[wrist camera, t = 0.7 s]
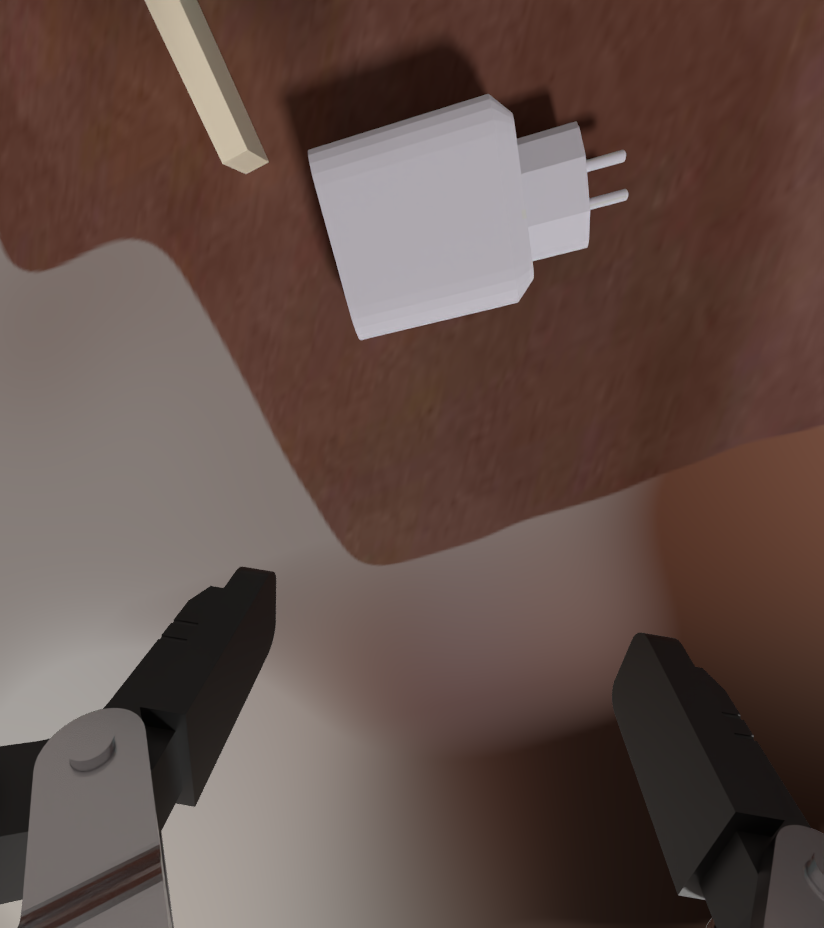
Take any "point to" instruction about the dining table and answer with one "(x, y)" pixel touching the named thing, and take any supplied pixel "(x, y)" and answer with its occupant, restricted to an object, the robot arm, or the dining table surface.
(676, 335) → the dining table surface
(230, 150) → the stop bay
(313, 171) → the charger
